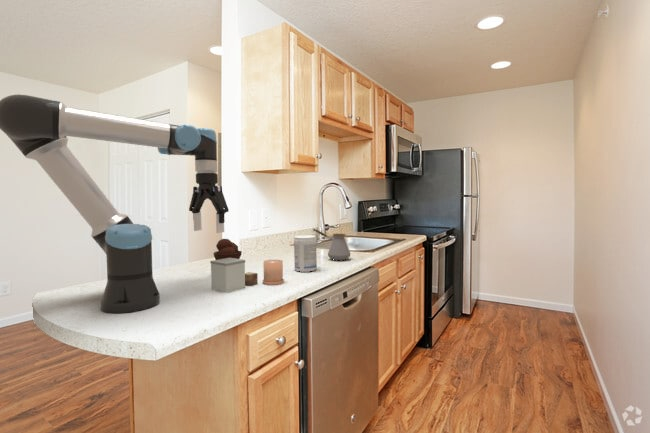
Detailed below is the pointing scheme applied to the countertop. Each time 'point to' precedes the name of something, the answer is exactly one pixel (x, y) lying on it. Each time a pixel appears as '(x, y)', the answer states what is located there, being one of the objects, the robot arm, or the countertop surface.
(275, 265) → the terracotta pot
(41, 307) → the countertop surface
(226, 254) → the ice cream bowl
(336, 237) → the coffee pot
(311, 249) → the supplement tub
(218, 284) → the grey tub
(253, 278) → the letter cube
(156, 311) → the countertop surface
